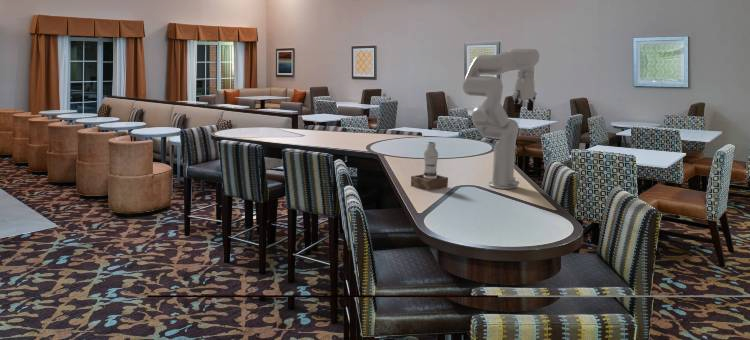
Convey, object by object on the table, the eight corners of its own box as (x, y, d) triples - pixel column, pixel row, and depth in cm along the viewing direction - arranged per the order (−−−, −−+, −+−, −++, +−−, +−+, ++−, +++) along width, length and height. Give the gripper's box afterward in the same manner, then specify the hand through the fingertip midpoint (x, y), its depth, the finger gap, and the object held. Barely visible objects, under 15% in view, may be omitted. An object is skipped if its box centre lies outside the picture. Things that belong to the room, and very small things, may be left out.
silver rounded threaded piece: (424, 183, 270) (425, 141, 266) (438, 184, 268) (440, 142, 264) (421, 186, 264) (422, 143, 260) (435, 187, 262) (436, 144, 258)
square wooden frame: (447, 187, 265) (447, 177, 264) (428, 190, 258) (428, 180, 257) (429, 182, 275) (430, 173, 274) (410, 185, 267) (411, 176, 266)
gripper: (530, 74, 281) (528, 109, 285) (507, 75, 271) (506, 112, 274) (543, 75, 276) (541, 110, 279) (520, 76, 265) (518, 113, 269)
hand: (523, 111), depth 277 cm, fingers open, 9 cm apart
